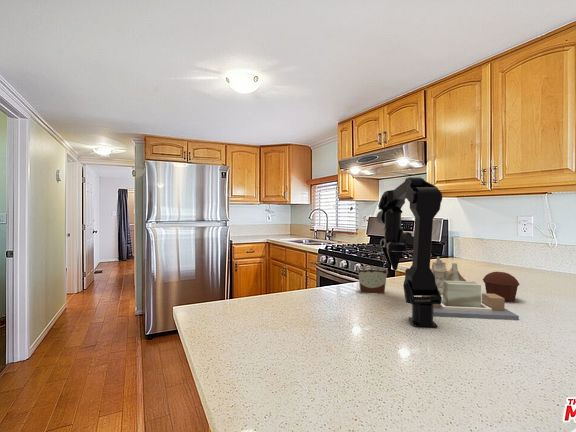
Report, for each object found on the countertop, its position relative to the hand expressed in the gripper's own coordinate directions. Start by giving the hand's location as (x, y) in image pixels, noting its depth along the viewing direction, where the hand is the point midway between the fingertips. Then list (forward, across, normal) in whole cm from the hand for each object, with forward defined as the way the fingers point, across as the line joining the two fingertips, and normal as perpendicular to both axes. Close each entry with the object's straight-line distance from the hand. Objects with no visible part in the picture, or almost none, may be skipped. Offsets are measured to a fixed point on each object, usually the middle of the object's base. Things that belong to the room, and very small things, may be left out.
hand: (392, 267), depth 116 cm
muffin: (+12, +8, -41) cm, 44 cm away
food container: (+12, +12, +6) cm, 18 cm away
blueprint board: (+12, -9, -20) cm, 25 cm away
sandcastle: (+12, +19, -25) cm, 34 cm away
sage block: (+11, -9, -20) cm, 25 cm away
